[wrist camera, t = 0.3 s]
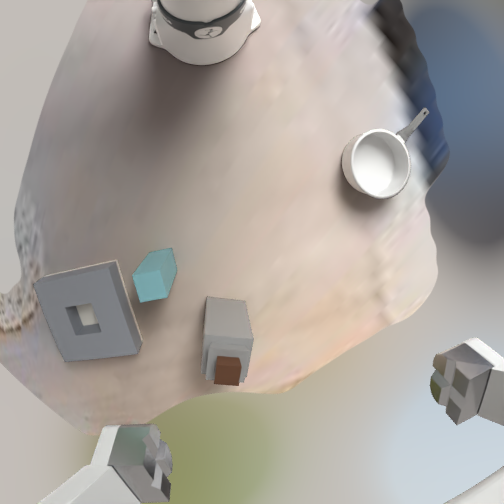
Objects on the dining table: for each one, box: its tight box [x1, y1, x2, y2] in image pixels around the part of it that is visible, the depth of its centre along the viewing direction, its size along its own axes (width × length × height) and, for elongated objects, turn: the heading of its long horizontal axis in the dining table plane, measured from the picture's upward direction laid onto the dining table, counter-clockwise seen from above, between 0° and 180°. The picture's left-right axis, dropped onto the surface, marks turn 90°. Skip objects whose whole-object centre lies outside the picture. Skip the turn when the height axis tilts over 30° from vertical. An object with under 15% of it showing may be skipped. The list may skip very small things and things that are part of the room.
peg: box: [132, 248, 177, 302], centre depth 48 cm, size 4×4×12 cm
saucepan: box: [342, 108, 429, 199], centre depth 50 cm, size 12×20×6 cm, turn 138°
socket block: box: [33, 260, 143, 362], centre depth 52 cm, size 16×16×5 cm
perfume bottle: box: [201, 297, 254, 386], centre depth 48 cm, size 7×7×18 cm
